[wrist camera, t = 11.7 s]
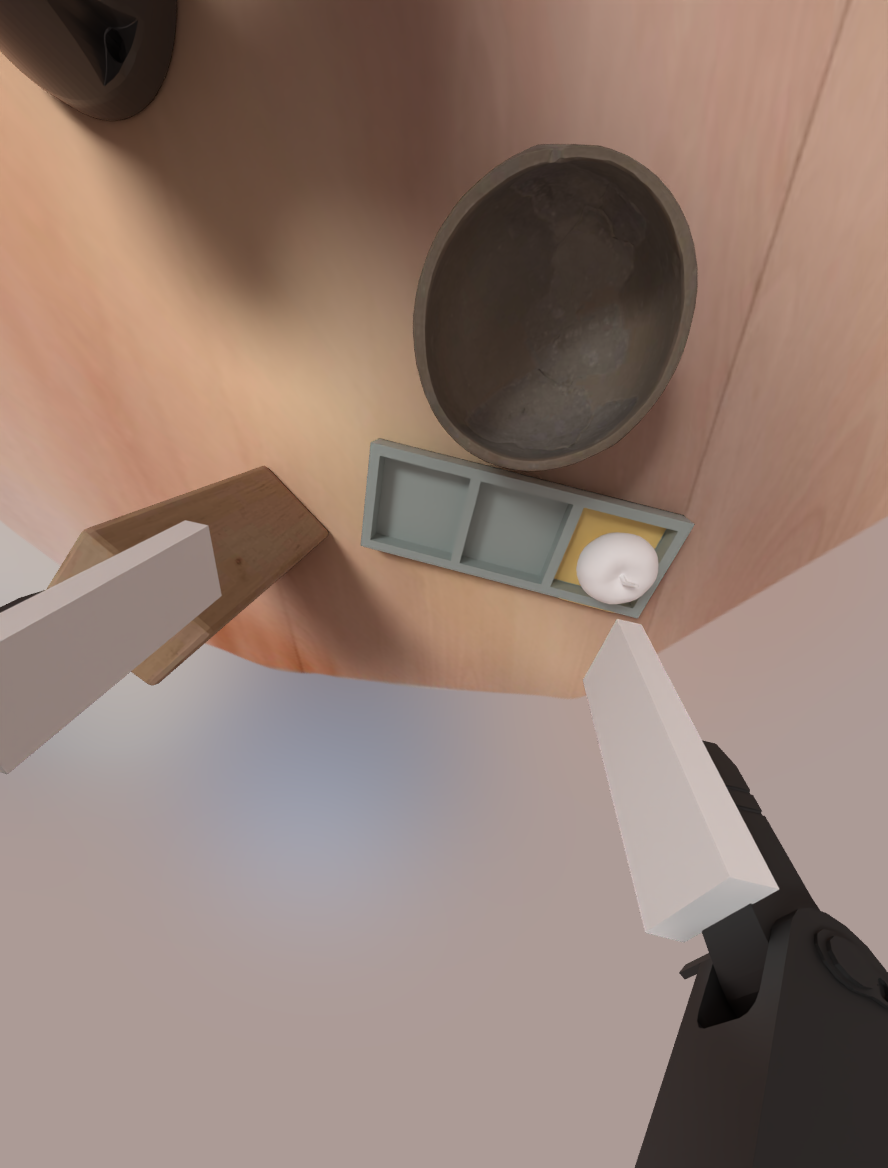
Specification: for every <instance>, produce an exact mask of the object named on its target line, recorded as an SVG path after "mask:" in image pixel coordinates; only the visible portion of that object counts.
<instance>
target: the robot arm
mask: <svg viewBox="0 0 888 1168" xmlns="http://www.w3.org/2000/svg"><path fill="white" fill-rule="evenodd" d="M175 28H176V0H0V51H1V52H2V53H3V54H4V55H5V56H6V57H7V58H8V59H9V60H10V61H11V62H12V63H13V64H14V65H15V66H16V67H17V68H18V69H19V70H20V71H21V72H22V73H23V74H25V75H26V76H27V77H28V78H30V79H31V80H32V81H33V82H35V83H36V84H37V85H38V86H40V87H41V88H43V89H44V90H46V91H47V92H49V93H50V94H52V95H54V96H55V97H57V98H58V99H60V100H62V101H63V102H65V103H66V104H68V105H70V106H71V107H73V108H75V109H76V110H78V111H80V112H82V113H84V114H86V115H89V116H91V117H94V118H98V119H103V120H121V119H126V118H128V117H131V116H133V115H135V114H137V113H138V112H140V111H141V110H143V109H144V108H145V107H146V106H147V105H148V104H149V103H150V102H151V100H152V99H153V98H154V96H155V95H156V94H157V92H158V90H159V88H160V87H161V85H162V82H163V80H164V78H165V75H166V72H167V70H168V66H169V63H170V59H171V55H172V50H173V44H174V37H175ZM221 596H222V595H221V589H220V584H219V579H218V573H217V568H216V563H215V558H214V552H213V547H212V542H211V536H210V531H209V526H208V525H204V524H200V523H195V522H191V521H186V520H185V521H183V522H181V523H179V524H177V525H175V526H173V527H171V528H169V529H167V530H165V531H163V532H161V533H159V534H157V535H155V536H153V537H151V538H149V539H147V540H145V541H143V542H141V543H139V544H137V545H135V546H133V547H131V548H129V549H127V550H125V551H123V552H121V553H119V554H117V555H115V556H113V557H111V558H109V559H107V560H105V561H103V562H101V563H99V564H97V565H95V566H93V567H91V568H89V569H87V570H85V571H83V572H81V573H79V574H77V575H75V576H73V577H71V578H69V579H67V580H65V581H63V582H61V583H59V584H57V585H55V586H53V587H51V588H49V589H47V590H44V591H41V592H37V593H34V594H31V595H28V596H25V597H21V598H18V599H17V600H15V601H12V602H10V603H8V604H6V605H4V606H2V607H0V772H2V773H5V774H8V773H9V772H11V771H12V770H13V769H14V768H16V767H17V766H18V765H19V764H20V763H22V762H23V761H24V760H25V759H26V758H28V757H29V756H30V755H31V754H32V753H34V752H35V751H36V750H37V749H38V748H40V747H41V746H42V745H43V744H44V743H46V742H47V741H48V740H49V739H50V738H52V737H53V736H54V735H55V734H56V733H58V732H59V731H60V730H61V729H62V728H63V727H65V726H66V725H67V724H68V723H69V722H71V721H72V720H73V719H74V718H75V717H77V716H78V715H79V714H80V713H82V712H83V711H84V710H85V709H86V708H88V707H89V706H90V705H91V704H92V703H94V702H95V701H96V700H97V699H98V698H100V697H101V696H102V695H103V694H104V693H106V692H107V691H108V690H109V689H110V688H112V687H113V686H114V685H115V684H116V683H118V682H119V681H120V680H121V679H122V678H124V677H125V676H126V675H127V674H128V673H130V672H131V671H132V670H133V669H134V668H136V667H137V666H138V665H139V664H141V663H142V662H143V661H144V660H145V659H147V658H148V657H149V656H150V655H151V654H153V653H154V652H155V651H156V650H157V649H159V648H160V647H161V646H162V645H163V644H165V643H166V642H167V641H168V640H169V639H171V638H172V637H173V636H174V635H175V634H177V633H178V632H179V631H180V630H181V629H183V628H184V627H185V626H186V625H187V624H189V623H190V622H191V621H192V620H193V619H195V618H196V617H197V616H198V615H199V614H201V613H202V612H203V611H204V610H205V609H207V608H208V607H209V606H210V605H211V604H213V603H214V602H215V601H216V600H217V599H219V598H220V597H221ZM583 683H584V687H585V691H586V695H587V699H588V703H589V707H590V711H591V715H592V719H593V723H594V727H595V731H596V735H597V739H598V743H599V747H600V751H601V756H602V759H603V764H604V768H605V772H606V776H607V780H608V784H609V788H610V792H611V796H612V800H613V804H614V808H615V812H616V816H617V820H618V824H619V828H620V832H621V836H622V841H623V845H624V849H625V853H626V856H627V861H628V865H629V869H630V873H631V877H632V881H633V885H634V889H635V893H636V897H637V901H638V905H639V909H640V913H641V917H642V922H643V926H644V930H645V933H648V934H652V935H656V936H660V937H664V938H668V939H672V940H676V941H680V942H686V941H688V940H689V939H691V938H693V937H695V936H697V935H698V934H700V933H702V934H703V936H704V939H705V942H706V945H707V948H708V951H709V953H708V954H706V955H704V956H702V957H700V958H698V959H696V960H694V961H692V962H690V963H688V964H686V965H685V966H684V967H683V969H682V970H681V971H680V974H681V976H682V977H683V978H684V979H687V978H689V977H691V976H694V975H696V974H697V976H696V979H695V982H694V985H693V989H692V992H691V995H690V998H689V1001H688V1004H687V1007H686V1010H685V1013H684V1016H683V1020H682V1022H681V1026H680V1029H679V1032H678V1035H677V1038H676V1041H675V1044H674V1047H673V1050H672V1054H671V1057H670V1060H669V1063H668V1066H667V1069H666V1072H665V1075H664V1078H663V1081H662V1085H661V1088H660V1091H659V1094H658V1097H657V1100H656V1103H655V1107H654V1110H653V1113H652V1116H651V1119H650V1122H649V1125H648V1128H647V1132H646V1135H645V1138H644V1141H643V1144H642V1147H641V1150H640V1153H639V1156H638V1159H637V1162H636V1165H635V1168H888V972H886V970H885V968H884V967H883V966H882V965H881V963H880V962H879V961H878V960H877V958H876V957H875V956H874V955H873V953H872V952H871V951H870V949H869V948H868V947H867V946H866V945H865V944H864V943H863V942H862V941H861V940H860V939H859V938H858V937H857V936H856V935H855V934H854V933H853V932H851V931H850V930H849V929H848V928H847V927H846V926H845V925H843V924H842V923H840V922H839V921H837V920H836V919H834V918H833V917H831V916H830V915H828V914H827V913H824V912H821V911H820V910H819V908H818V907H817V905H816V904H815V902H814V901H813V899H812V898H811V896H810V894H809V892H808V890H807V889H806V887H805V885H804V884H803V882H802V880H801V878H800V877H799V875H798V873H797V871H796V870H795V868H794V866H793V864H792V863H791V861H790V859H789V857H788V856H787V854H786V852H785V851H784V849H783V847H782V845H781V844H780V842H779V840H778V838H777V837H776V835H775V833H774V831H773V830H772V828H771V826H770V824H769V822H768V821H767V819H766V817H765V816H762V814H761V811H762V810H761V809H760V807H759V805H758V803H757V801H756V800H755V798H754V796H753V795H750V793H749V792H750V789H749V788H748V786H747V784H746V782H745V781H744V779H743V777H742V775H741V774H740V772H739V770H738V768H737V767H736V765H735V764H734V763H733V762H732V761H731V760H730V759H729V758H728V757H727V755H726V754H725V753H724V752H723V751H722V750H721V749H720V748H719V747H718V745H717V744H715V743H710V742H706V741H702V740H701V738H700V736H699V734H698V732H697V730H696V728H695V726H694V724H693V723H692V720H691V719H690V717H689V715H688V713H687V711H686V709H685V707H684V705H683V703H682V701H681V699H680V697H679V696H678V694H677V692H676V690H675V688H674V686H673V684H672V682H671V680H670V678H669V676H668V674H667V673H666V671H665V669H664V667H663V665H662V663H661V661H660V659H659V657H658V655H657V653H656V651H655V650H654V648H653V646H652V644H651V642H650V640H649V638H648V636H647V634H646V632H645V630H644V628H643V627H642V625H641V624H637V623H633V622H629V621H624V620H620V619H616V621H615V623H614V625H613V627H612V628H611V630H610V632H609V634H608V636H607V637H606V639H605V641H604V643H603V645H602V646H601V648H600V650H599V652H598V654H597V655H596V657H595V659H594V661H593V663H592V664H591V666H590V668H589V670H588V672H587V673H586V675H585V677H584V679H583Z"/></svg>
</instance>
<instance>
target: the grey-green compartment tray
mask: <svg viewBox="0 0 888 1168" xmlns="http://www.w3.org/2000/svg"><path fill="white" fill-rule="evenodd" d="M694 525H695V524H694V523H692V522H691V521H690V520H689V519H687V518H686V517H685V516H684V515H681V514H677V513H673V512H669V511H665V510H661V509H657V508H653V507H649V506H645V505H641V504H637V503H633V502H629V501H625V500H621V499H617V498H613V497H609V496H605V495H601V494H597V493H594V492H590V491H586V490H582V489H578V488H574V487H570V486H566V485H562V484H558V483H554V482H550V481H546V480H542V479H538V478H534V477H530V476H526V475H522V474H518V473H514V472H510V471H506V470H502V469H499V468H495V467H491V466H487V465H483V464H479V463H475V462H471V461H467V460H463V459H459V458H455V457H451V456H447V455H443V454H439V453H435V452H431V451H427V450H423V449H419V448H415V447H411V446H408V445H404V444H400V443H396V442H392V441H388V440H384V439H380V438H379V439H377V440H375V441H372V442H371V445H370V455H369V466H368V476H367V486H366V496H365V506H364V516H363V527H362V537H361V546H363V547H367V548H371V549H375V550H378V551H382V552H386V553H390V554H394V555H398V556H401V557H405V558H409V559H413V560H417V561H420V562H424V563H428V564H432V565H436V566H439V567H443V568H447V569H451V570H455V571H459V572H462V573H466V574H470V575H474V576H478V577H481V578H485V579H489V580H493V581H497V582H500V583H504V584H508V585H512V586H516V587H519V588H523V589H527V590H531V591H535V592H539V593H542V594H546V595H550V596H554V597H558V598H559V599H562V600H566V601H570V602H574V603H578V604H581V605H585V606H589V607H593V608H597V609H600V610H604V611H608V612H612V613H614V612H615V613H619V614H622V615H626V616H630V617H634V618H638V617H639V616H640V614H641V612H642V611H643V609H644V607H645V606H646V604H647V602H648V601H649V599H650V597H651V596H652V594H653V592H654V591H655V589H656V588H657V586H658V584H659V583H660V581H661V579H662V578H663V576H664V574H665V573H666V571H667V569H668V568H669V566H670V564H671V563H672V561H673V559H674V558H675V556H676V554H677V553H678V551H679V550H680V548H681V546H682V545H683V543H684V541H685V540H686V538H687V536H688V535H689V533H690V531H691V530H692V528H693V526H694ZM615 532H619V533H629V534H634V535H637V536H640V537H642V538H643V539H645V540H646V541H648V542H649V543H650V545H651V546H652V547H653V548H654V549H655V552H656V554H657V556H658V564H659V566H658V574H657V578H656V580H655V582H654V583H653V585H652V586H651V587H650V588H649V589H648V590H647V591H646V592H645V593H644V594H643V595H642V596H641V597H639V598H638V599H636V600H633V601H631V602H626V603H621V604H607V603H603V602H600V601H598V600H596V599H594V598H593V597H591V596H589V595H588V594H587V593H586V592H585V591H584V590H583V588H582V587H581V585H580V583H579V580H578V577H577V572H576V567H577V562H578V559H579V556H580V554H581V552H582V551H583V549H584V548H585V547H586V546H587V545H588V544H589V543H590V542H592V541H593V540H595V539H596V538H598V537H600V536H602V535H604V534H607V533H615Z"/></svg>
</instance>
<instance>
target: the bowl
mask: <svg viewBox="0 0 888 1168" xmlns="http://www.w3.org/2000/svg"><path fill="white" fill-rule="evenodd" d="M696 294H697V262H696V255H695V248H694V243H693V239H692V236H691V232H690V228H689V225H688V223H687V221H686V219H685V216H684V214H683V212H682V210H681V208H680V206H679V204H678V203H677V201H676V200H675V198H674V196H673V195H672V193H671V192H670V190H669V189H668V188H667V187H666V186H665V185H664V184H663V182H662V181H661V180H660V179H659V178H658V177H657V176H656V175H655V174H654V173H652V172H651V171H650V170H649V169H648V168H646V167H645V166H644V165H642V164H640V163H639V162H637V161H636V160H634V159H632V158H631V157H629V156H627V155H625V154H622V153H620V152H617V151H615V150H612V149H610V148H606V147H602V146H595V145H578V144H542V145H536V146H533V147H531V148H529V149H527V150H524V151H523V152H521V153H518V154H516V155H514V156H513V157H511V158H509V159H508V160H506V161H505V162H503V163H501V164H500V165H498V166H497V167H495V168H494V169H493V170H492V171H490V172H489V173H488V174H487V175H486V176H484V177H483V178H482V179H481V180H480V181H478V182H477V183H476V184H475V185H474V186H473V187H472V188H471V189H470V190H469V191H468V192H467V193H466V194H465V195H464V196H463V197H462V198H461V199H460V201H459V202H458V203H457V204H456V206H455V207H454V208H453V210H452V211H451V213H450V214H449V216H448V217H447V219H446V221H445V222H444V224H443V225H442V227H441V228H440V230H439V231H438V233H437V235H436V237H435V239H434V241H433V243H432V245H431V248H430V250H429V252H428V255H427V257H426V260H425V263H424V266H423V269H422V272H421V276H420V279H419V283H418V288H417V292H416V298H415V306H414V314H413V338H414V350H415V357H416V364H417V368H418V372H419V376H420V380H421V383H422V387H423V390H424V393H425V395H426V398H427V400H428V402H429V404H430V406H431V408H432V411H433V412H434V414H435V416H436V418H437V419H438V421H439V422H440V424H441V425H442V426H443V428H444V429H445V430H446V431H447V433H448V434H449V435H450V436H451V437H452V438H453V439H454V440H455V441H456V442H457V443H458V444H459V445H461V446H462V447H463V448H464V449H465V450H467V451H468V452H470V453H471V454H473V455H474V456H476V457H478V458H480V459H482V460H484V461H486V462H488V463H491V464H494V465H497V466H501V467H505V468H509V469H514V470H522V471H541V470H549V469H555V468H559V467H564V466H568V465H571V464H574V463H577V462H579V461H582V460H584V459H586V458H589V457H591V456H593V455H595V454H597V453H599V452H601V451H603V450H605V449H607V448H609V447H611V446H613V445H614V444H616V443H617V442H618V441H619V440H621V439H622V438H623V437H624V436H626V435H627V434H628V433H629V432H630V431H631V430H632V429H633V428H634V427H635V426H636V425H637V424H638V423H639V422H640V420H641V419H642V418H643V417H644V416H645V415H646V414H647V412H648V411H649V410H650V409H651V408H652V406H653V405H654V404H655V403H656V401H657V400H658V398H659V397H660V396H661V394H662V393H663V391H664V389H665V388H666V386H667V384H668V382H669V381H670V379H671V377H672V375H673V374H674V372H675V370H676V368H677V365H678V363H679V361H680V358H681V356H682V354H683V351H684V348H685V344H686V341H687V338H688V335H689V331H690V327H691V322H692V318H693V314H694V309H695V303H696Z"/></svg>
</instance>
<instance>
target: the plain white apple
mask: <svg viewBox="0 0 888 1168" xmlns="http://www.w3.org/2000/svg"><path fill="white" fill-rule="evenodd" d="M658 566H659V564H658V556H657V554H656V552H655V549H654V548H653V547H652V546H651V545H650V543H649V542H648V541H646V540H645V539H643V538H642V537H640V536H637V535H634V534H629V533H619V532H615V533H607V534H604V535H602V536H600V537H598V538H596V539H595V540H593V541H592V542H590V543H589V544H588V545H587V546H586V547H585V548H584V549H583V551H582V552H581V554H580V556H579V559H578V562H577V567H576V572H577V577H578V580H579V583H580V585H581V587H582V588H583V590H584V591H585V592H586V593H587V594H588V595H589V596H591V597H593V598H594V599H596V600H598V601H600V602H603V603H607V604H621V603H626V602H631V601H633V600H636V599H638V598H639V597H641V596H642V595H643V594H644V593H645V592H646V591H647V590H648V589H649V588H650V587H651V586H652V585H653V583H654V582H655V580H656V578H657V574H658Z"/></svg>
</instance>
